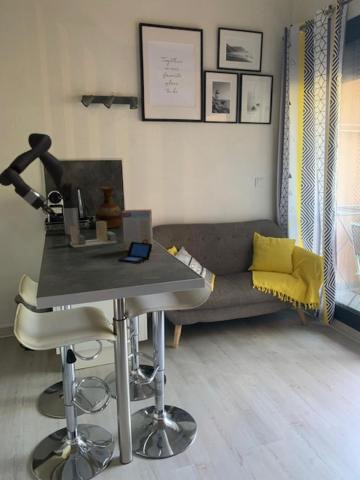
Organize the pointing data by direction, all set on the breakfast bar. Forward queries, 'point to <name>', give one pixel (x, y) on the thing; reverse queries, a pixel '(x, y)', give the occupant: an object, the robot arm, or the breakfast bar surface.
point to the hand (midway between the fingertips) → (60, 219)
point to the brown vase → (109, 209)
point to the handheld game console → (138, 252)
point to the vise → (110, 236)
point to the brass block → (101, 231)
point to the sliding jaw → (76, 236)
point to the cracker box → (137, 227)
